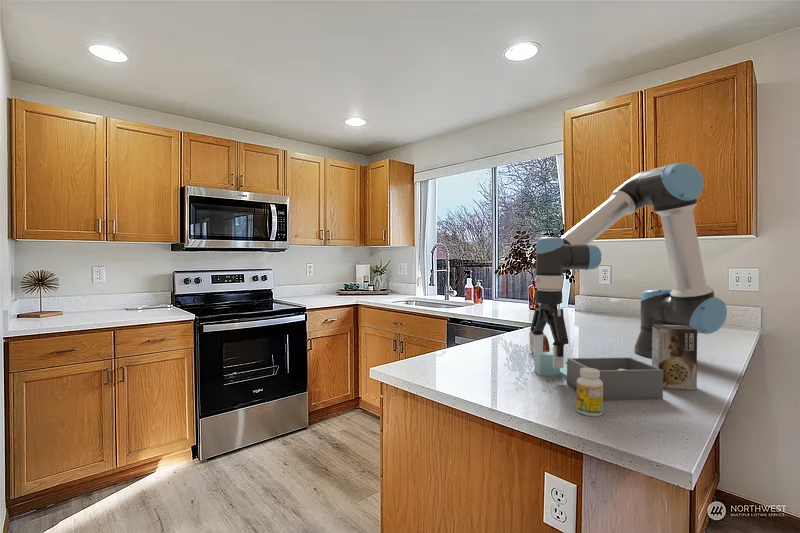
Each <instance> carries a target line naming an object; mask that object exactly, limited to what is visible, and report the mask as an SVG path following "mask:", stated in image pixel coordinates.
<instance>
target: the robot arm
mask: <svg viewBox="0 0 800 533" xmlns="http://www.w3.org/2000/svg"><path fill="white" fill-rule="evenodd" d="M704 187H705V183H704V177H703V175H702V173H701V171H700V170H699V168H697V167H695V166H694V165H692V164H691V163H687V162H678V163H670V164H667V165H664V166H660V167H655V168H652V169H651V168H650V169H648V170H644V171H640V172H639V173H637V174H635V175H634V176H632V177H631V178H629V179H627V180H626V181H625V182H624V183H623V184H621V185H620V186H618V187H617V188H616V189H615V190H613V192H610V194H609V195H610V196H609V198H608V199H607V200H606V201H604V202H603V203H602V204H601V205H599V206H598V207H597V208H595V209H594V210H593V211H592V212H591V213H590V214H588V215H586V217H585V218H583V219H582V220H581V221H580V222H578V223H577V224H576V225H574V226H573V227H572V228H570V230H568V231H567V232H565V233H564V234H563V235H562V236H561V237H559V236H554V237H553V236H552V237H551V236H548V237H546V236H545V237H543V236H542V237H539V238H537V240H536V246H535V278H534V282H535V288H536V289H537V290H535V292H534V293H535V294H534V295H535V296H534V300H535V302H536V303H535V305H534V313H533V316H532V321H531V325H530V332H531V331H533V334H534V354H533V353H532V355H533V357H535V352H543V335H540V334H544V329H545V327H546V324H547V325H548V326H549V328H550V331H551V334H552V337H553V341H554V342H553V343H552V352H553V368H563V363H565V362H564V357H565V354H564V353H565V350H564V348H565V345H569V337H568V332H567V327H566V323H565V318H564V309H563V308H558V305H561V304H562V303H563V291H562V290H563V289H564V288H563V286H564V281H563V280H564V270H571V271H572V270H573V271H575V270H577V271H578V270H583V271H584V270H585V271H588V270H589V271H590V270H596V269H597V268H598V267H599V266H600V265H601V263H602V252H601V249H600V248H599V246H597V245H594V244H591V243H592V242H593V241H594V240H596V239H597V238H598V237H599V236H601V235H602V234H603V233H605V232H606V231H607V230H608V229H610V228H611V227H612V226H613V225H615V224H616V223H617V222H618V221H620V219H621V220H622V218H623V217H625V216H627V215H632V214H633V213H635V212H636V211H637V210H639V209H642V208H644V207H648V206H652V209H653V213H656V214H657V215H658V216H660V219H661V221H660V222H661V225H662V226H661V227H662V232H663V236H664V241H665V246H666V251H667V258H668V264H669V268H670V274H671V278H672V284H673V288H669V289H650V290H649V289H648V290H644V291H642V293H641V298H640V300H639V301H640V330H639V334H638V336H637V339H636V342H635V344H634V350H633V351H634V353H635V354H637V355H640V356H643V357H647V358H652V324H657V325H685V326H691V327H693V328H694V329H697V334H704V335H711V334H713V333H715V332H717V331H719V330H720V329H721V328H722V327H723V325H724V323H725V322H726V319H727V315H728V309H727V305H726V303H725V301H723V300H722V299H721V298H719V297H715V292H714V288H713V287H712V286H710V285H708V284H707V282H706V276H705V270H704V265H703V260H702V255H701V249H700V243H699V239H698V238H699V237H698V233H697V228H696V222H695V217H694V212H693V211H694V208H696V206H697V205H698V200H697V199H698V198H699V197H700V196H701V195H702V193H703V190H704Z"/></svg>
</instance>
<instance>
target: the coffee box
mask: <svg viewBox="0 0 800 533" xmlns="http://www.w3.org/2000/svg"><path fill="white" fill-rule="evenodd" d="M651 366H654V367H657V368H659V369H662V370H663V389H676V390H688V391H697V388H698V387H697V386H698V384H697V383H698V368H697V367H698V333H697V329H694V328H693V327H691V326H685V325H657V324H652V357H651Z"/></svg>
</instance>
